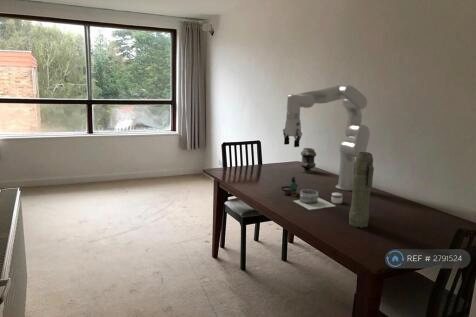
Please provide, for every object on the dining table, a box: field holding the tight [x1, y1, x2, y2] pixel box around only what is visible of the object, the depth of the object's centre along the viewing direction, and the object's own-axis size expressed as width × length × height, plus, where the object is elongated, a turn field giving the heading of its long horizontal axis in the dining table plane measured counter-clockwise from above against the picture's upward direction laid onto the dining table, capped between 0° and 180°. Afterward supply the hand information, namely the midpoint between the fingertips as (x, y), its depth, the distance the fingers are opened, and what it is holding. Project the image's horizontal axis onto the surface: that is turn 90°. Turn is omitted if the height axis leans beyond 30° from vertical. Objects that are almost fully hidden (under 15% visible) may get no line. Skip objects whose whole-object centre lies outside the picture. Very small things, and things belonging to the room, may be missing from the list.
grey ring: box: [299, 188, 319, 204], centre depth 203 cm, size 10×10×6 cm
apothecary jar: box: [299, 147, 317, 174], centre depth 276 cm, size 12×12×18 cm
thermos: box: [348, 151, 375, 229], centre depth 168 cm, size 9×12×35 cm
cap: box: [330, 192, 344, 204], centre depth 203 cm, size 6×6×5 cm
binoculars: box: [280, 176, 299, 197], centre depth 216 cm, size 9×11×10 cm
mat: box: [293, 197, 336, 211], centre depth 200 cm, size 18×16×1 cm
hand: (291, 145), depth 209 cm, fingers open, 9 cm apart
